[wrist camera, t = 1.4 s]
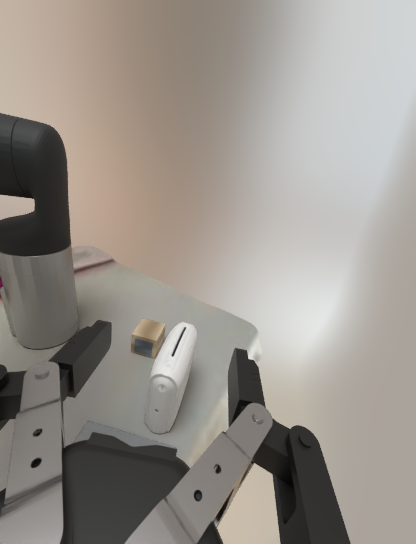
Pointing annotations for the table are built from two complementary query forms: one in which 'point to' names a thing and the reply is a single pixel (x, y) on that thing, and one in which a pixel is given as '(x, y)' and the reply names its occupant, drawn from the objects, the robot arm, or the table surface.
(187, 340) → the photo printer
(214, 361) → the table surface
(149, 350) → the wooden block
